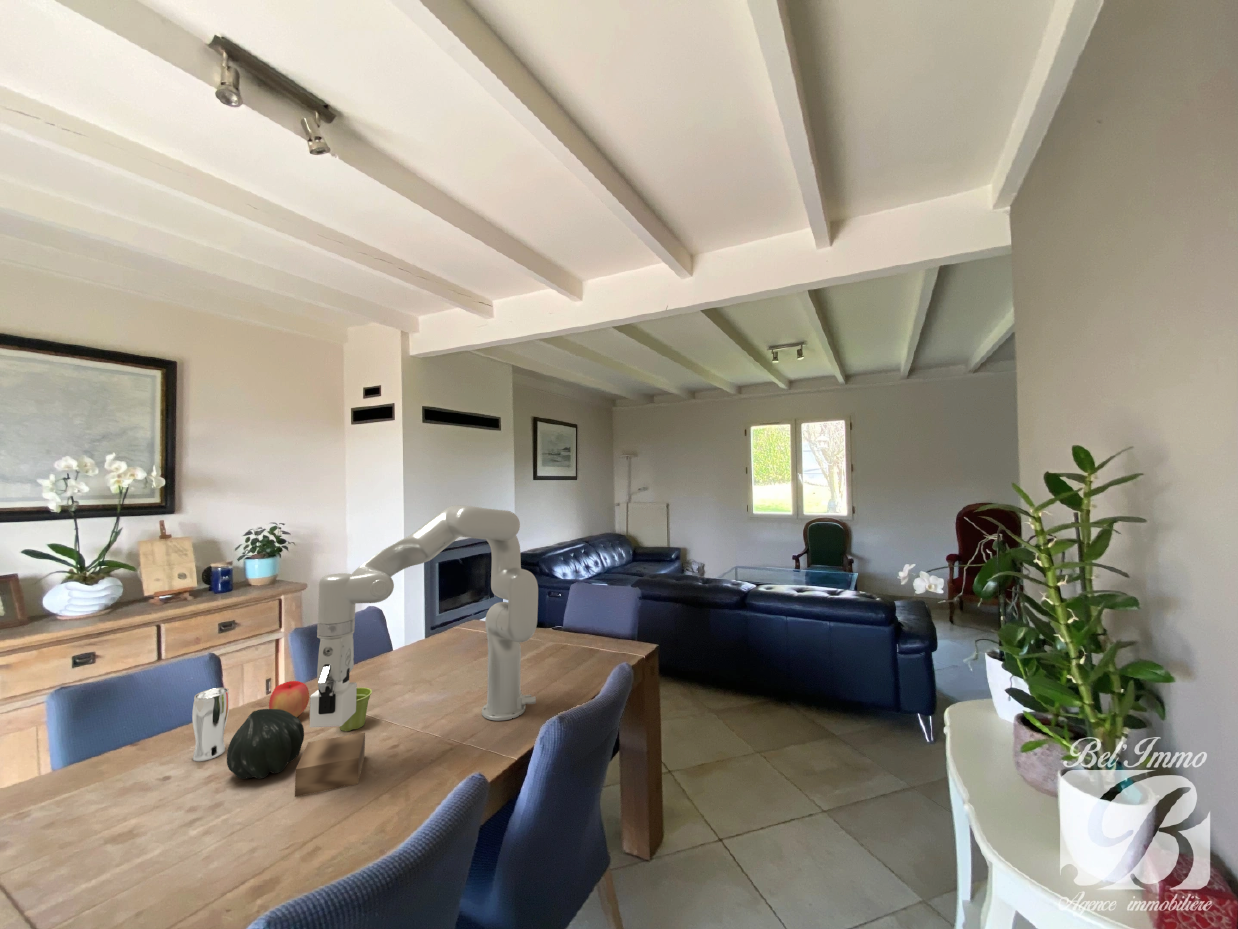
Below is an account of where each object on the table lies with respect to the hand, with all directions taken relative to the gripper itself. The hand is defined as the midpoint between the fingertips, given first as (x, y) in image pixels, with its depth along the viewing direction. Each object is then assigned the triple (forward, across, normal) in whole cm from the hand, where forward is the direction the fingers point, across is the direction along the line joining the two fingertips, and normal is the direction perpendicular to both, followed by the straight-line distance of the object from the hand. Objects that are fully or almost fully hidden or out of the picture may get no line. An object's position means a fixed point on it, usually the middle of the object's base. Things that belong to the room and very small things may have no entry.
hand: (333, 704), depth 111 cm
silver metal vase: (+16, +16, +33) cm, 40 cm away
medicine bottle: (+4, 0, 0) cm, 4 cm away
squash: (+16, +6, +16) cm, 23 cm away
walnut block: (+16, 0, 0) cm, 16 cm away
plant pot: (+16, +24, +3) cm, 29 cm away
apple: (+16, +32, +22) cm, 42 cm away
